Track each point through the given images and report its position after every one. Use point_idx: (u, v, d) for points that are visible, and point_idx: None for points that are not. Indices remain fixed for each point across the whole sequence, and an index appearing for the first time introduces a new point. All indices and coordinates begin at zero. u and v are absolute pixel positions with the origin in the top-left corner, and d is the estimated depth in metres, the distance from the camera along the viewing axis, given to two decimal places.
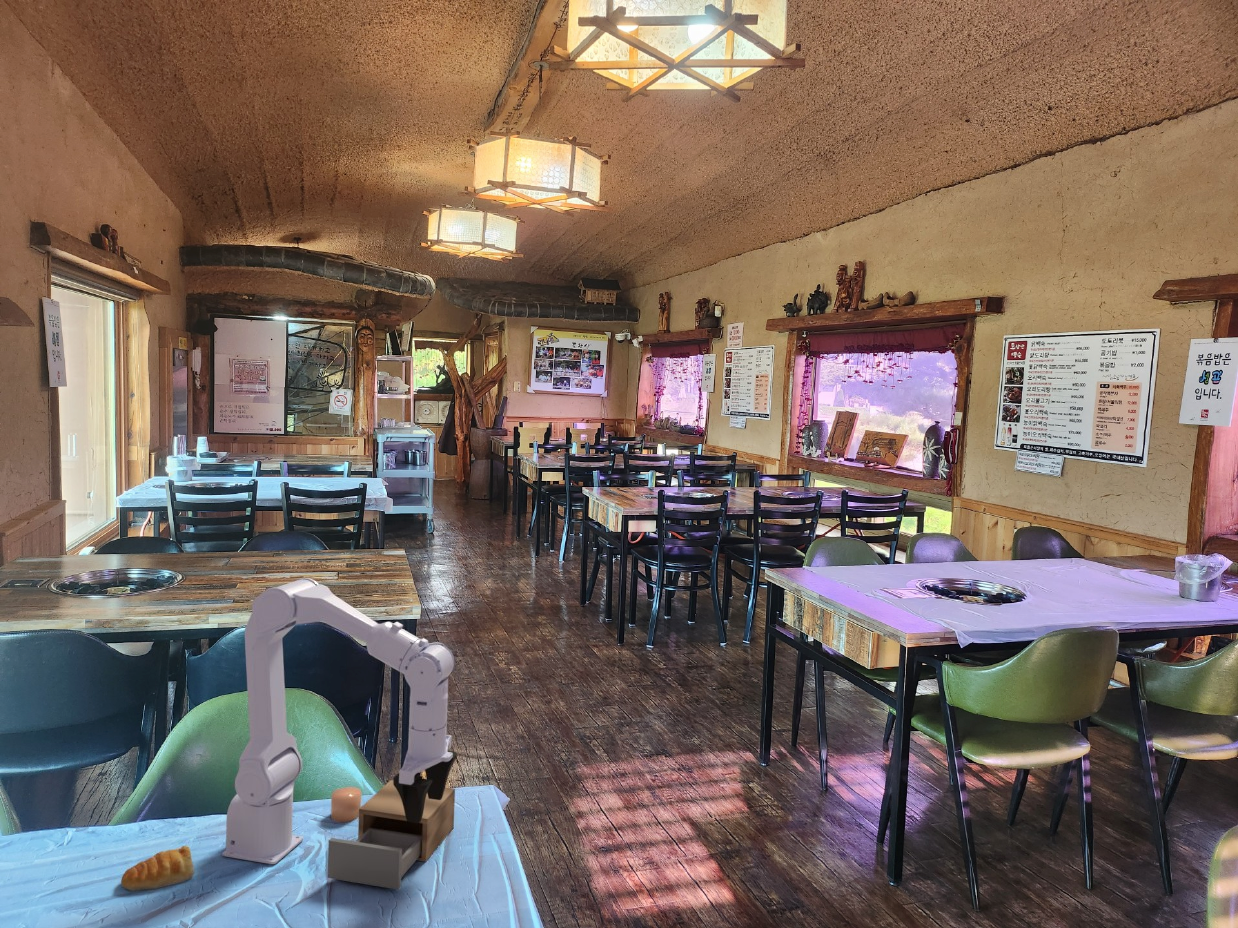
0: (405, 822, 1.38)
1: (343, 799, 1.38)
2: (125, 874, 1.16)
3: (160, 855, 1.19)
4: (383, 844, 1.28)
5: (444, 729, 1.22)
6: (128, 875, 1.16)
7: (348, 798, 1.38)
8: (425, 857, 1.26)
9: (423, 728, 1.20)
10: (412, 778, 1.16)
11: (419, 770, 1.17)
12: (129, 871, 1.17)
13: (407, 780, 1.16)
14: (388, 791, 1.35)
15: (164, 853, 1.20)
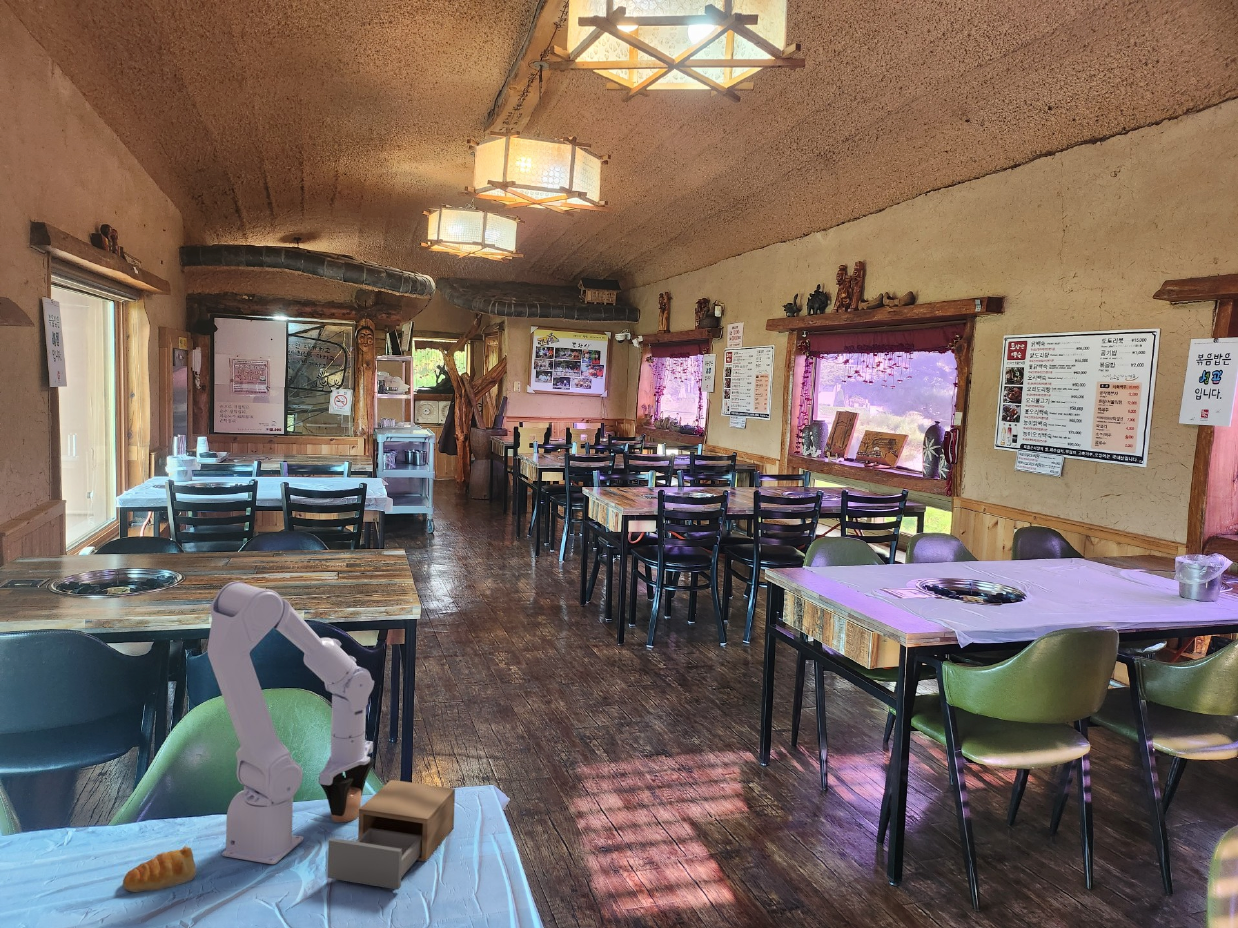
0: (405, 822, 1.38)
1: None
2: (127, 876, 1.16)
3: (162, 856, 1.19)
4: (383, 844, 1.28)
5: (362, 736, 1.39)
6: (130, 877, 1.15)
7: (348, 798, 1.38)
8: (425, 857, 1.26)
9: (360, 733, 1.38)
10: (330, 779, 1.33)
11: (337, 772, 1.34)
12: (131, 873, 1.16)
13: (326, 781, 1.33)
14: (388, 791, 1.35)
15: (166, 854, 1.19)
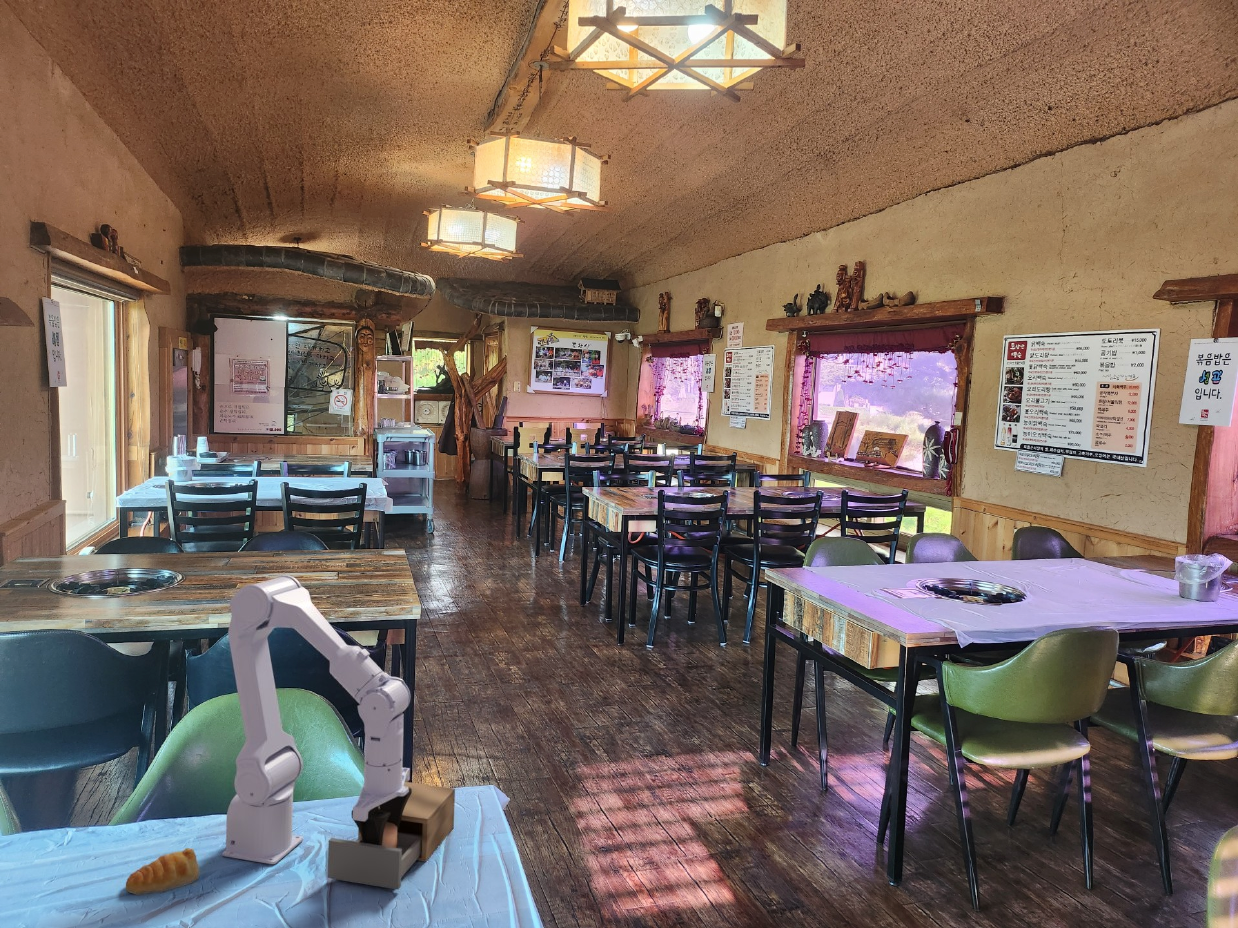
0: (405, 822, 1.38)
1: None
2: (130, 878, 1.15)
3: (164, 858, 1.18)
4: None
5: (399, 764, 1.22)
6: (133, 879, 1.15)
7: None
8: (425, 857, 1.26)
9: (377, 763, 1.20)
10: (366, 814, 1.16)
11: (373, 806, 1.18)
12: (134, 875, 1.16)
13: (361, 817, 1.16)
14: None
15: (168, 856, 1.19)
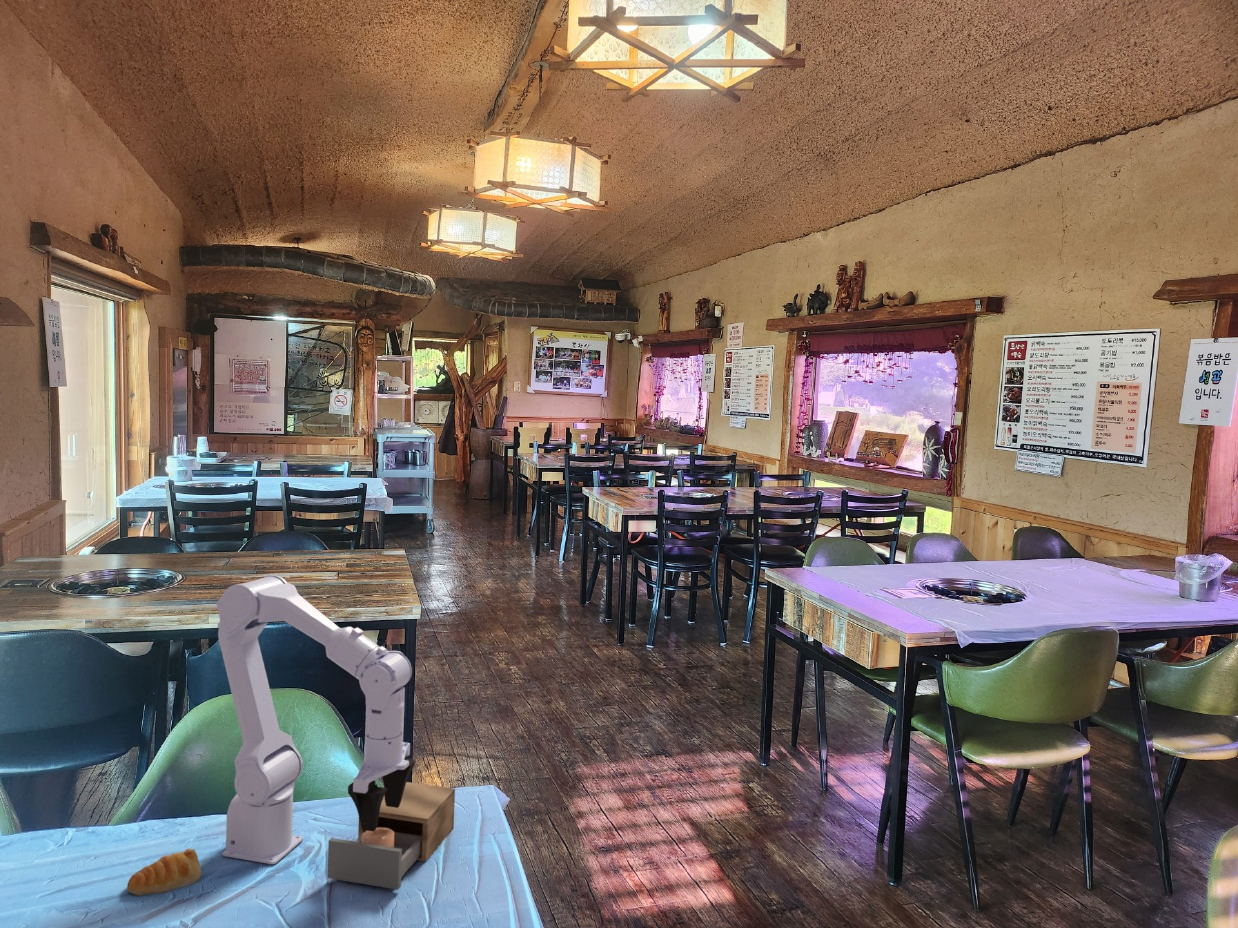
0: (405, 822, 1.38)
1: (373, 843, 1.21)
2: (131, 879, 1.15)
3: (166, 859, 1.18)
4: None
5: (400, 737, 1.22)
6: (135, 880, 1.15)
7: (379, 842, 1.22)
8: (425, 857, 1.26)
9: (378, 736, 1.20)
10: (366, 786, 1.16)
11: (373, 778, 1.18)
12: (135, 876, 1.15)
13: (361, 788, 1.16)
14: None
15: (170, 857, 1.19)
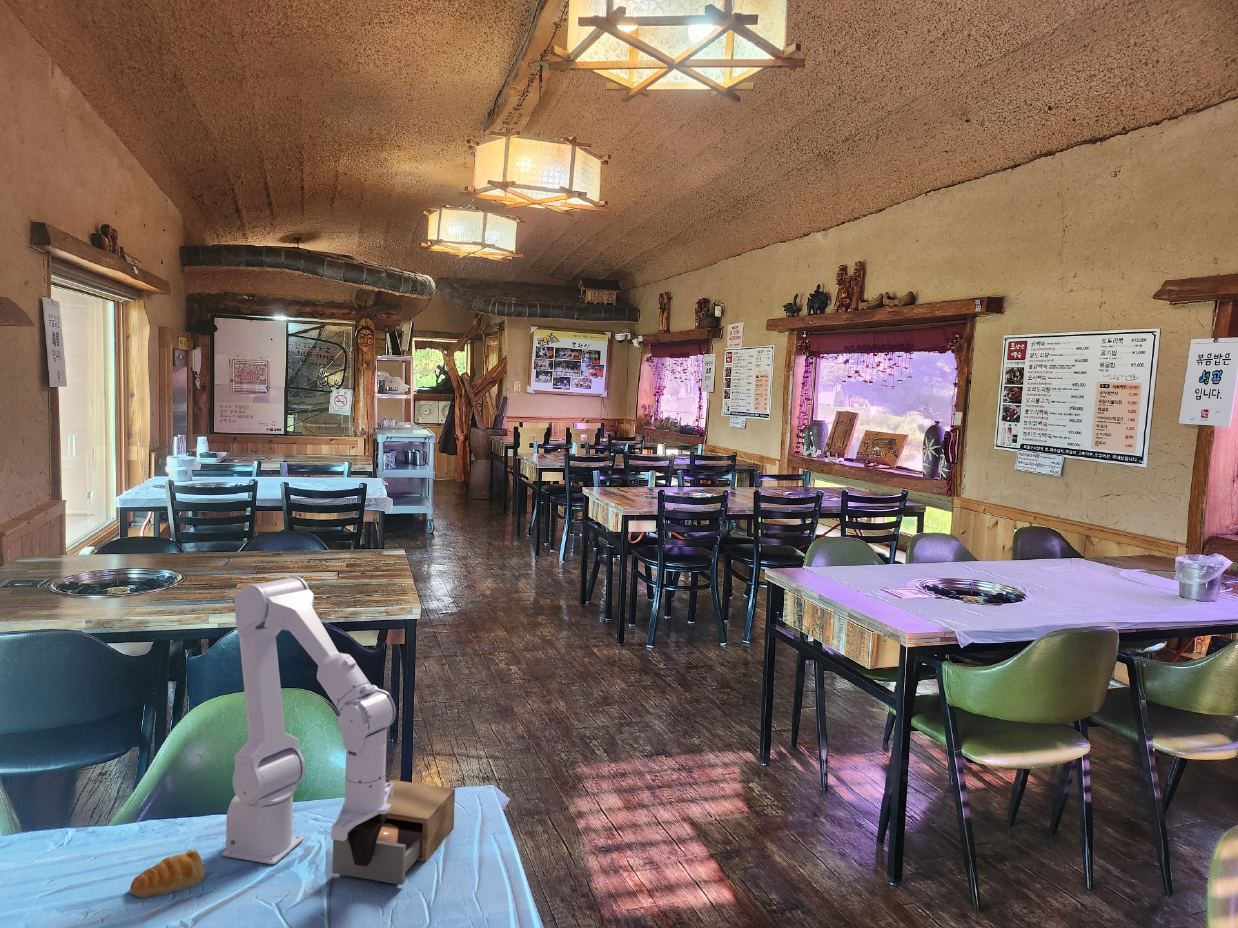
0: (405, 822, 1.38)
1: (377, 838, 1.23)
2: (134, 882, 1.15)
3: (169, 860, 1.18)
4: None
5: (382, 780, 1.17)
6: (139, 882, 1.14)
7: (383, 837, 1.23)
8: (425, 857, 1.26)
9: (353, 779, 1.15)
10: (345, 834, 1.11)
11: (353, 825, 1.12)
12: (138, 878, 1.15)
13: (340, 836, 1.11)
14: None
15: (172, 858, 1.18)
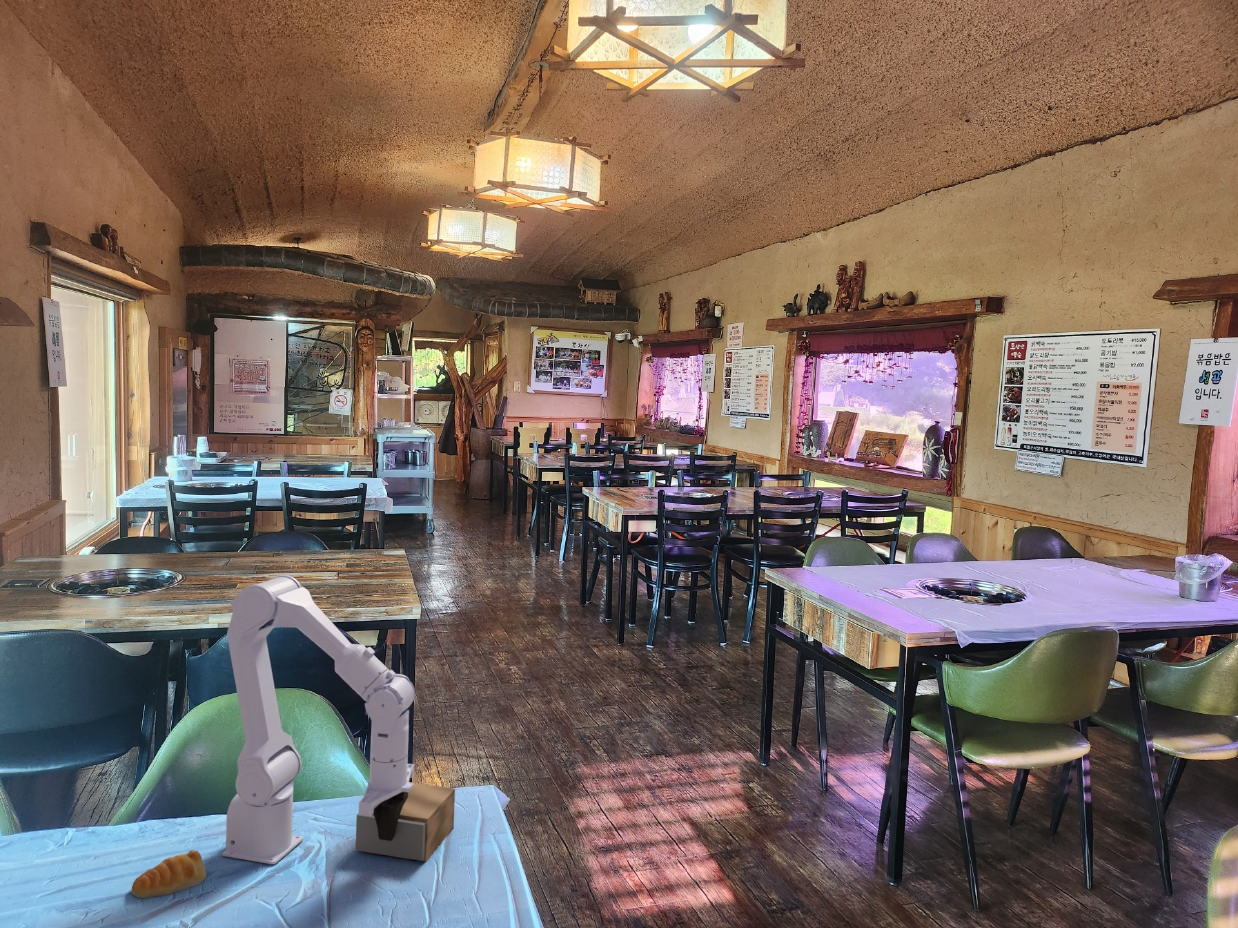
0: None
1: None
2: (136, 882, 1.15)
3: (170, 861, 1.18)
4: None
5: (405, 760, 1.24)
6: (140, 883, 1.14)
7: None
8: (425, 857, 1.26)
9: (384, 759, 1.22)
10: (371, 809, 1.18)
11: (379, 801, 1.20)
12: (140, 879, 1.15)
13: (366, 811, 1.18)
14: None
15: (174, 859, 1.18)
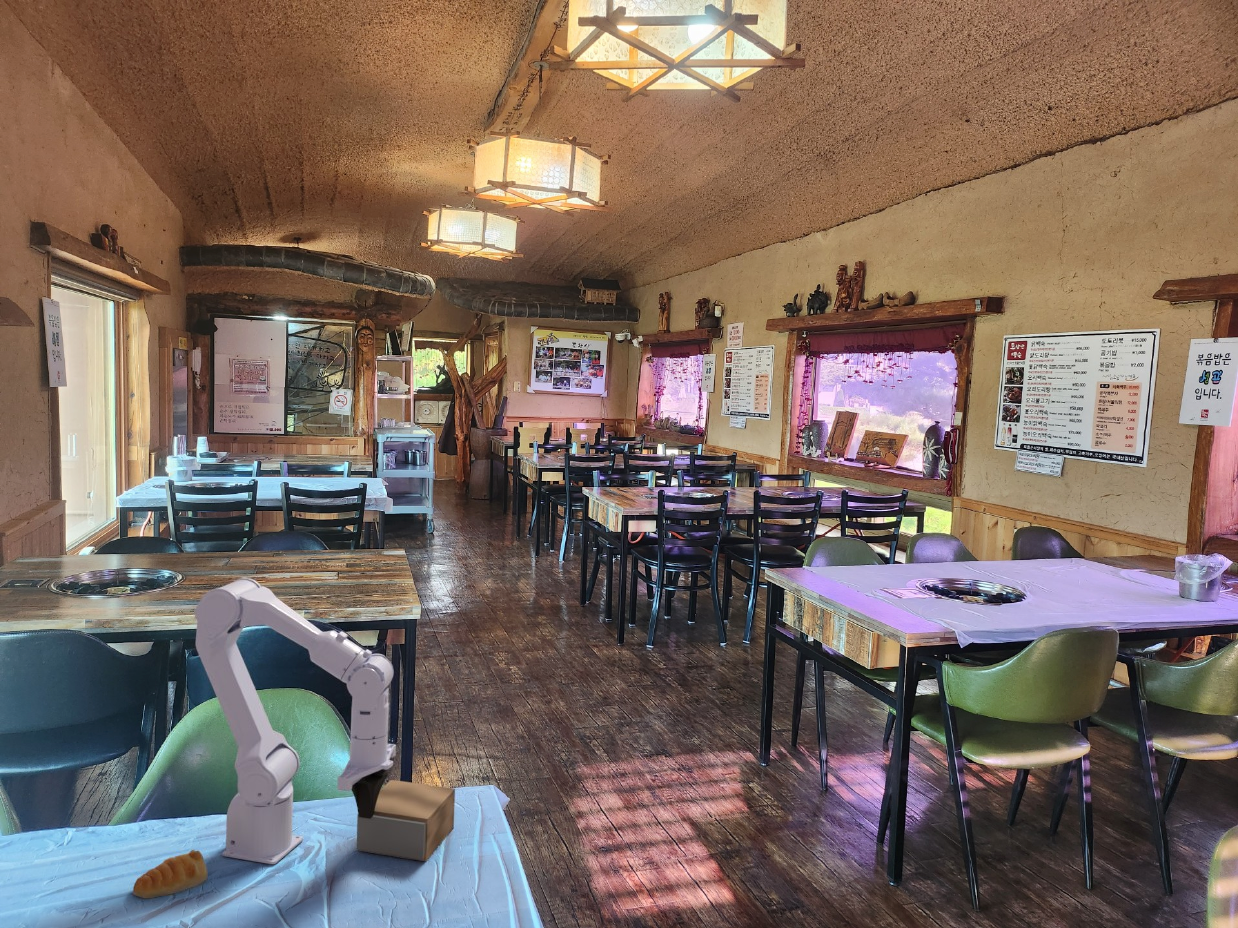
0: None
1: None
2: (137, 883, 1.14)
3: (171, 861, 1.18)
4: None
5: (384, 738, 1.26)
6: (142, 883, 1.14)
7: None
8: (425, 857, 1.26)
9: (366, 737, 1.24)
10: (350, 785, 1.20)
11: (357, 777, 1.22)
12: (141, 879, 1.15)
13: (345, 787, 1.20)
14: (388, 791, 1.35)
15: (175, 859, 1.18)
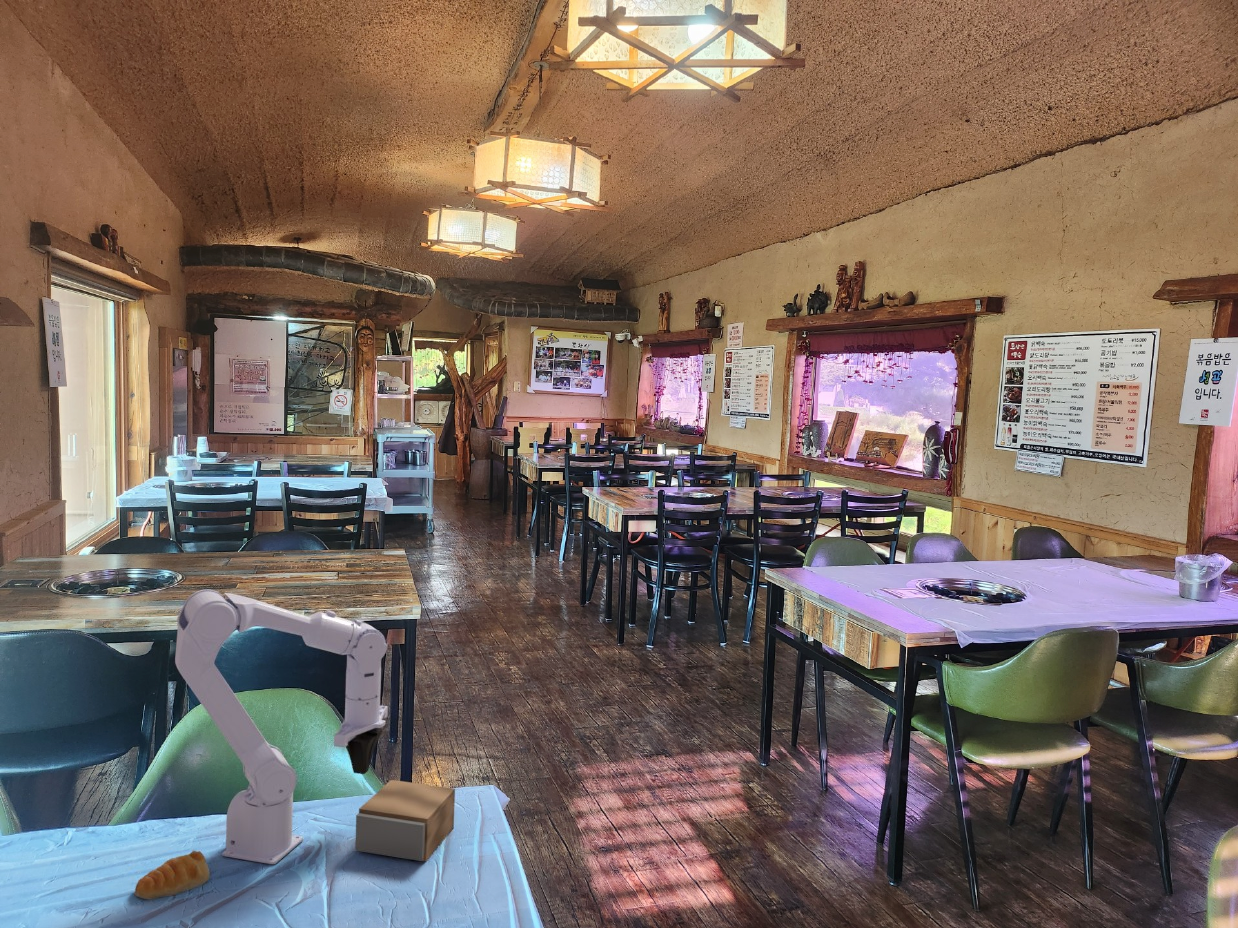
0: None
1: None
2: (139, 884, 1.14)
3: (173, 862, 1.18)
4: None
5: (377, 699, 1.35)
6: (144, 884, 1.14)
7: None
8: (425, 857, 1.26)
9: (371, 696, 1.34)
10: (345, 741, 1.29)
11: (352, 735, 1.31)
12: (143, 880, 1.15)
13: (341, 743, 1.29)
14: (388, 791, 1.35)
15: (177, 859, 1.18)
